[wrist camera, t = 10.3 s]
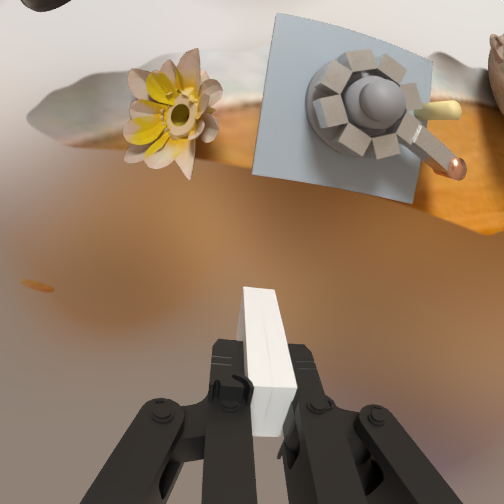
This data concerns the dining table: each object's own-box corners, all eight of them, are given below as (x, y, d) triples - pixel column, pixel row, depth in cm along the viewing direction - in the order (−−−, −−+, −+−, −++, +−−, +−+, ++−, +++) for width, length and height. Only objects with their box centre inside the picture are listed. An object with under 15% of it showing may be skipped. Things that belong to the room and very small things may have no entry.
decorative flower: (138, 46, 30) (129, 29, 21) (223, 62, 34) (241, 50, 25) (113, 157, 36) (98, 174, 27) (196, 169, 40) (204, 189, 31)
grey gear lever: (294, 120, 32) (302, 118, 28) (340, 38, 28) (353, 27, 24) (426, 208, 36) (444, 216, 32) (462, 134, 33) (482, 136, 29)
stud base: (275, 16, 31) (288, -21, 21) (427, 63, 33) (472, 51, 23) (251, 173, 38) (256, 185, 28) (407, 201, 41) (450, 222, 30)
